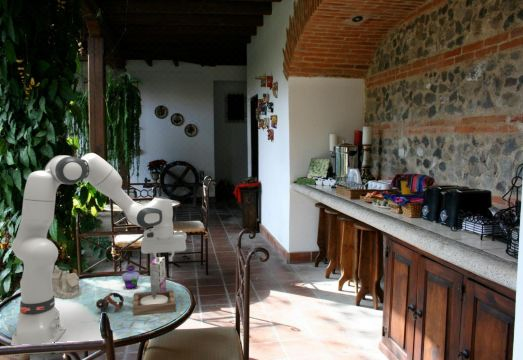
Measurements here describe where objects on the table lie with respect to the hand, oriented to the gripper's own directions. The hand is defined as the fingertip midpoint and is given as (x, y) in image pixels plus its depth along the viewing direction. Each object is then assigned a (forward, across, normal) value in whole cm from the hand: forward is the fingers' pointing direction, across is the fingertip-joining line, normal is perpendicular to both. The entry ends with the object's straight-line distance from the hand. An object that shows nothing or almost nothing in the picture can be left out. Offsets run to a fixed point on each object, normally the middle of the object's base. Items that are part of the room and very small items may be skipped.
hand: (164, 261), depth 209 cm
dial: (+18, +5, +4) cm, 19 cm away
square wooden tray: (+19, +5, +4) cm, 20 cm away
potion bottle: (+19, +16, -24) cm, 35 cm away
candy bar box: (+19, +3, -13) cm, 23 cm away
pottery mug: (+20, +24, +4) cm, 31 cm away
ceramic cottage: (+20, +45, -24) cm, 55 cm away
